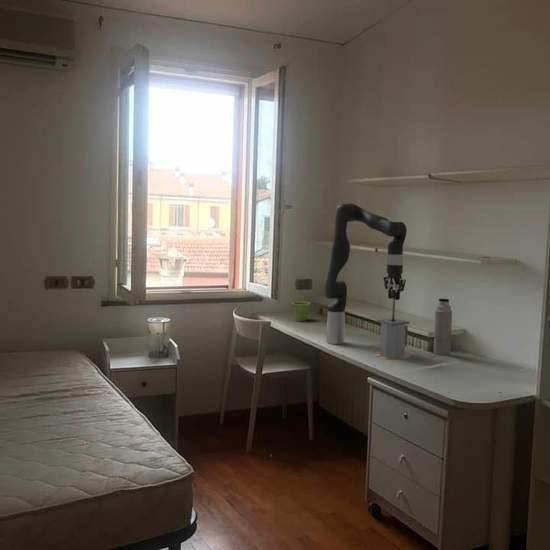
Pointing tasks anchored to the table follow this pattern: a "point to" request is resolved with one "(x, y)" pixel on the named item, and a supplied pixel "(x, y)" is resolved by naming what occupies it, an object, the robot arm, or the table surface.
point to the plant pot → (300, 310)
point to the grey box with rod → (393, 337)
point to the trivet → (406, 356)
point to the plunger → (393, 303)
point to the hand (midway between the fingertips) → (393, 299)
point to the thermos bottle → (443, 328)
